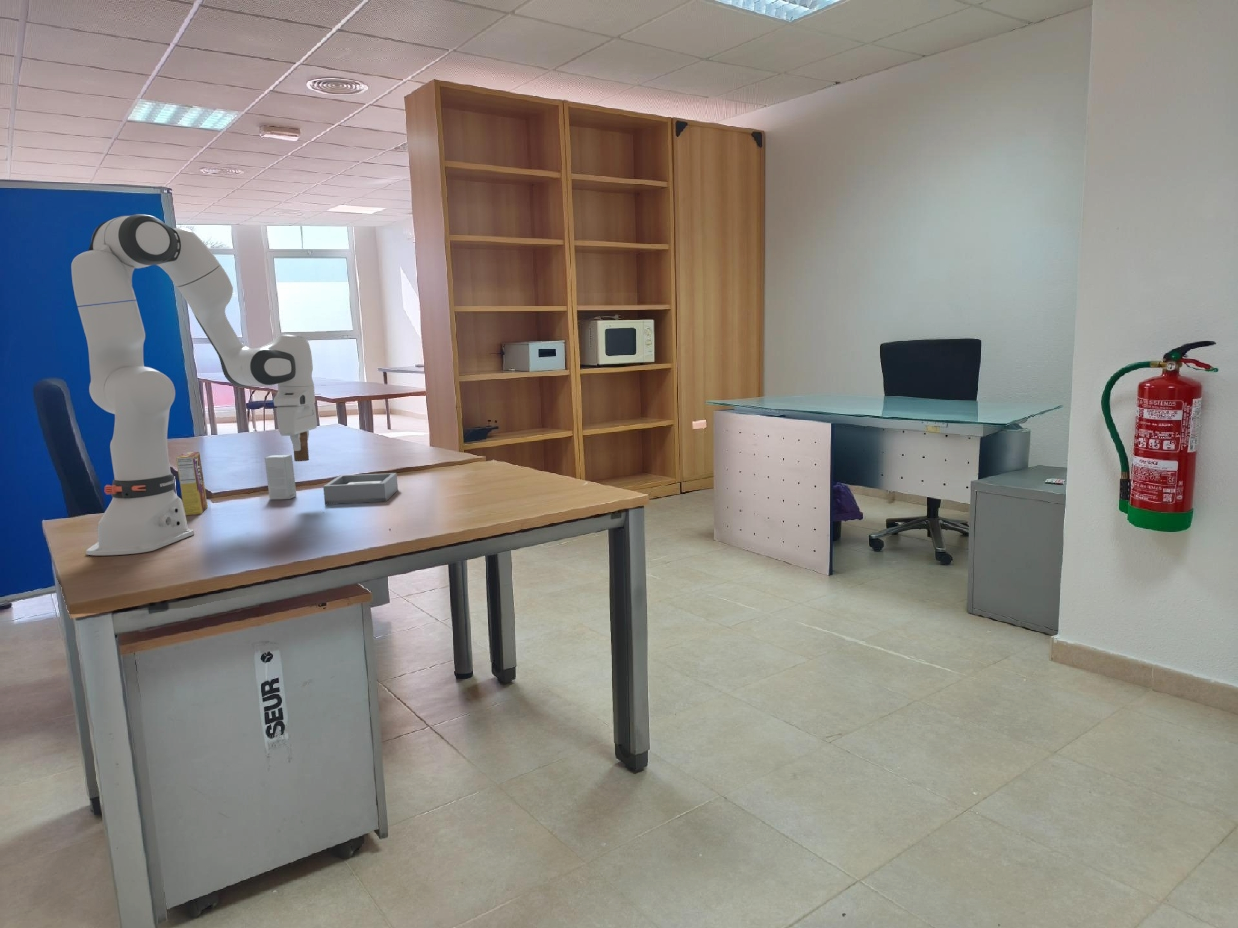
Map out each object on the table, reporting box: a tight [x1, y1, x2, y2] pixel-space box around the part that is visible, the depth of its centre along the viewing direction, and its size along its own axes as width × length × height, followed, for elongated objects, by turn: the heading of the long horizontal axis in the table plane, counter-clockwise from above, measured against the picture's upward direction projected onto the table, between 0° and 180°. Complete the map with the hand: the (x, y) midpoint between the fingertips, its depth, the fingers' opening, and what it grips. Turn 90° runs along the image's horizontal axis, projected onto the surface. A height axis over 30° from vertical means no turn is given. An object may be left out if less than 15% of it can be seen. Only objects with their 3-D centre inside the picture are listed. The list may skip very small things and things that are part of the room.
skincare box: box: [264, 454, 297, 501], centre depth 222 cm, size 6×4×12 cm
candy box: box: [175, 451, 208, 516], centre depth 207 cm, size 9×4×15 cm, turn 17°
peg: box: [293, 432, 310, 462], centre depth 210 cm, size 4×4×8 cm
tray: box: [322, 472, 399, 505], centre depth 220 cm, size 16×16×5 cm
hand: (300, 449), depth 210 cm, fingers closed on peg, 4 cm apart
